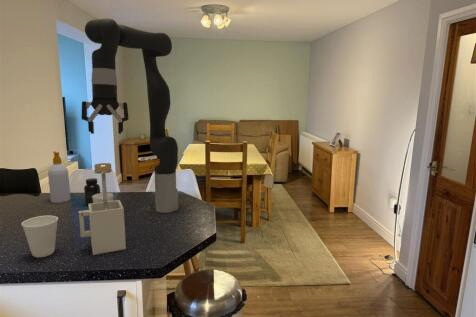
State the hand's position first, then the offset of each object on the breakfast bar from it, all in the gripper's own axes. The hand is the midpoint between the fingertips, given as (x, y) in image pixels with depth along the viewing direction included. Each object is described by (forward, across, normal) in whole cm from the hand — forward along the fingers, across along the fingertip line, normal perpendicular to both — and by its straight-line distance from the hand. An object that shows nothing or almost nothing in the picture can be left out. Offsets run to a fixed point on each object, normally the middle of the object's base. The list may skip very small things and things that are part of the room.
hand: (106, 133), depth 108 cm
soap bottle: (+37, +28, -55) cm, 72 cm away
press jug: (+38, +1, +4) cm, 38 cm away
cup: (+38, +19, +5) cm, 43 cm away
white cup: (+37, +5, -24) cm, 44 cm away
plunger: (+28, 0, +4) cm, 29 cm away
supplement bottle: (+37, +12, -46) cm, 60 cm away
